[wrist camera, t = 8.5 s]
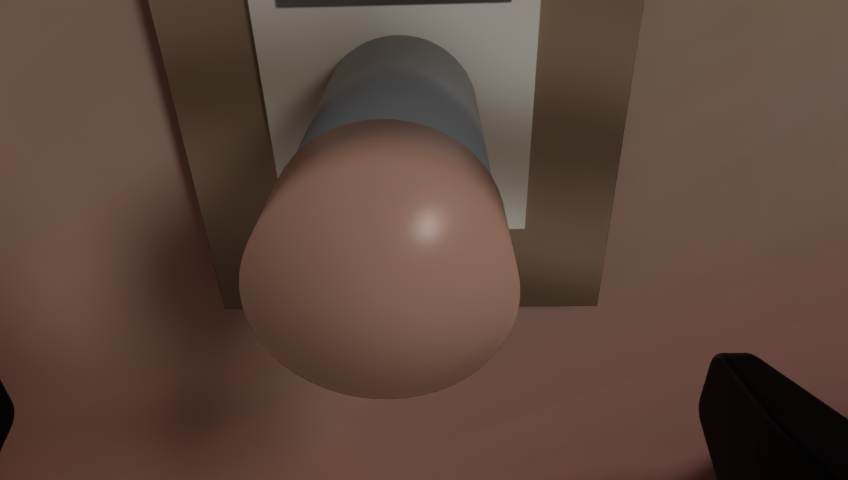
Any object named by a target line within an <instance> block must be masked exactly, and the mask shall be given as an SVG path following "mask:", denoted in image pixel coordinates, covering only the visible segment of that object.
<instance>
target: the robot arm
mask: <svg viewBox="0 0 848 480" xmlns="http://www.w3.org/2000/svg"><path fill="white" fill-rule="evenodd" d="M699 417H700V421H701V425H702V429H703V432H704V436H705V439H706V443H707V446H708V450H709V453H710V457H711V460H712V464H713V467H714V471H715V475H716V478H717V480H848V419H847V418H845V417H844V416H843V415H841V414H840V413H838V412H837V411H835V410H834V409H832V408H831V407H829V406H828V405H827V404H825V403H824V402H822V401H821V400H819V399H818V398H816V397H815V396H813V395H812V394H811V393H809V392H808V391H806V390H805V389H803V388H802V387H800V386H799V385H797V384H796V383H795V382H793V381H792V380H790V379H789V378H787V377H786V376H784V375H783V374H781V373H780V372H779V371H777V370H776V369H774V368H773V367H771V366H770V365H768V364H767V363H765V362H764V361H763V360H761V359H760V358H758V357H756V356H755V355H753V354H750V353H720V354H717V355H715V356H714V357H713V359H712V361H711V363H710V366H709V370H708V373H707V376H706V380H705V383H704V386H703V390H702V393H701V397H700V401H699ZM13 420H14V405H13V403H12V400H11V399H10V397H9V395H8V393H7V391H6V389H5V387H4V386H3V384H2V382H1V380H0V451H1V449H2V447H3V444H4V442H5V440H6V438H7V435H8V433H9V431H10V428H11V426H12V423H13Z"/></svg>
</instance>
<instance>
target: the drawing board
mask: <svg viewBox="0 0 848 480" xmlns="http://www.w3.org/2000/svg"><path fill="white" fill-rule="evenodd" d="M148 2H149V6H150V10H151V14H152V18H153V22H154V26H155V30H156V34H157V38H158V42H159V46H160V50H161V54H162V58H163V62H164V66H165V70H166V74H167V78H168V82H169V86H170V90H171V94H172V98H173V102H174V106H175V110H176V114H177V118H178V122H179V127H180V131H181V135H182V139H183V143H184V147H185V151H186V155H187V159H188V163H189V167H190V171H191V175H192V179H193V183H194V187H195V191H196V195H197V199H198V203H199V207H200V211H201V215H202V219H203V223H204V227H205V231H206V235H207V239H208V243H209V247H210V251H211V255H212V259H213V263H214V267H215V271H216V275H217V279H218V283H219V287H220V291H221V295H222V299H223V303H224V307H225V309H243V306H242V303H241V297H240V291H239V271H240V266H241V260H242V256H243V253H244V251H245V248H246V245H247V243H248V240H249V238H250V236H251V234H252V232H253V230H254V228H255V226H256V224H257V222H258V219H259V217H260V215H261V213H262V211H263V209H264V207H265V205H266V203H267V200H268V198H269V196H270V194H271V192H272V190H273V188H274V186H275V184H276V182H277V180H278V178H279V176H280V174H281V172H282V171H283V169H284V167H285V166H286V165H287V163H288V162H289V161H290V160H291V158H292V157H293V156H294V155H295V154H296V152H297V150H298V148H299V146H300V143H301V141H302V139H303V137H304V135H305V132H306V130H307V128H308V126H309V124H310V121H311V119H312V117H313V115H314V113H315V110H316V108H317V106H318V104H319V102H320V99H321V97H322V95H323V93H324V91H325V88H326V86H327V84H328V82H329V80H330V77H331V76H332V74H333V72H334V70H335V68H336V67H337V66H338V64H339V63H340V62H341V61H342V60H343V58H344V57H345V56H346V55H347V54H348V53H350V52H351V51H352V50H354V49H355V48H356V47H358V46H360V45H362V44H363V43H365V42H368V41H370V40H373V39H375V38H379V37H384V36H391V35H408V36H414V37H419V38H422V39H425V40H428V41H430V42H432V43H435V44H437V45H438V46H440V47H442V48H443V49H445V50H446V51H447V52H449V53H450V54H451V55H452V56H453V57H454V58H455V59H456V60H457V61H458V62H459V63H460V64H461V65H462V67H463V68H464V70H465V71H466V73H467V74H468V76H469V78H470V81H471V83H472V85H473V88H474V91H475V96H476V101H477V106H478V111H479V116H480V121H481V126H482V131H483V136H484V140H485V145H486V150H487V155H488V160H489V165H490V170H491V175H492V177H493V179H494V181H495V183H496V185H497V187H498V189H499V192H500V195H501V198H502V201H503V205H504V209H505V214H506V218H507V223H508V227H509V232H510V236H511V241H512V246H513V250H514V255H515V259H516V264H517V269H518V274H519V279H520V302H519V306H597V303H598V297H599V290H600V284H601V277H602V271H603V264H604V258H605V251H606V245H607V238H608V232H609V225H610V219H611V212H612V206H613V199H614V193H615V187H616V180H617V174H618V167H619V161H620V154H621V148H622V141H623V135H624V128H625V122H626V115H627V109H628V102H629V96H630V89H631V83H632V76H633V70H634V63H635V57H636V50H637V44H638V38H639V31H640V25H641V18H642V12H643V5H644V0H148Z"/></svg>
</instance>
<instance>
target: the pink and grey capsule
mask: <svg viewBox="0 0 848 480" xmlns="http://www.w3.org/2000/svg"><path fill="white" fill-rule="evenodd" d="M239 291H240V297H241V303H242V306H243V309H244V313H245V316H246V318H247V320H248V322H249V324H250V326H251V328H252V330H253V332H254V333H255V335H256V336H257V338H258V339H259V341H260V342H261V343H262V345H263V346H264V347H265V348H266V349H267V350H268V351H269V353H270V354H271V355H272V356H273V357H275V358H276V359H277V360H278V361H279V362H280V363H281V364H282V365H284V366H285V367H287V368H288V369H289V370H291V371H292V372H294V373H295V374H297V375H298V376H300V377H302V378H304V379H306V380H307V381H309V382H311V383H314V384H316V385H318V386H321V387H323V388H325V389H329V390H332V391H335V392H338V393H342V394H346V395H351V396H355V397H363V398H371V399H399V398H409V397H415V396H421V395H425V394H429V393H432V392H436V391H439V390H441V389H444V388H447V387H449V386H452V385H454V384H456V383H458V382H460V381H462V380H464V379H466V378H467V377H469V376H470V375H472V374H473V373H475V372H476V371H478V370H479V369H480V368H481V367H482V366H484V365H485V364H486V363H487V362H488V361H489V360H490V359H491V358H492V357H493V356H494V355H495V354H496V353H497V352H498V351H499V349H500V348H501V346H502V345H503V344H504V342H505V341H506V339H507V338H508V336H509V334H510V332H511V330H512V328H513V326H514V323H515V319H516V316H517V313H518V308H519V302H520V279H519V274H518V269H517V264H516V259H515V255H514V250H513V246H512V241H511V236H510V232H509V227H508V223H507V218H506V214H505V209H504V205H503V201H502V198H501V195H500V192H499V189H498V187H497V185H496V183H495V181H494V179H493V177H492V175H491V170H490V165H489V160H488V155H487V150H486V145H485V140H484V136H483V131H482V126H481V121H480V116H479V111H478V106H477V101H476V96H475V91H474V88H473V85H472V83H471V81H470V78H469V76H468V74H467V73H466V71H465V70H464V68H463V67H462V65H461V64H460V63H459V62H458V61H457V60H456V59H455V58H454V57H453V56H452V55H451V54H450V53H449V52H447V51H446V50H445V49H443V48H442V47H440V46H438V45H437V44H435V43H432V42H430V41H428V40H425V39H422V38H419V37H414V36H408V35H391V36H384V37H379V38H375V39H373V40H370V41H368V42H365V43H363V44H362V45H360V46H358V47H356V48H355V49H354V50H352V51H351V52H350V53H348V54H347V55H346V56H345V57H344V58H343V60H342V61H341V62H340V63H339V64H338V66H337V67H336V68H335V70H334V72H333V74H332V76H331V77H330V80H329V82H328V84H327V86H326V88H325V91H324V93H323V95H322V97H321V99H320V102H319V104H318V106H317V108H316V110H315V113H314V115H313V117H312V119H311V121H310V124H309V126H308V128H307V130H306V132H305V135H304V137H303V139H302V141H301V143H300V146H299V148H298V150H297V152H296V154H295V155H294V156H293V157H292V158H291V160H290V161H289V162H288V163H287V165H286V166H285V167H284V169H283V171H282V172H281V174H280V176H279V178H278V180H277V182H276V184H275V186H274V188H273V190H272V192H271V194H270V196H269V198H268V200H267V203H266V205H265V207H264V209H263V211H262V213H261V215H260V217H259V219H258V222H257V224H256V226H255V228H254V230H253V232H252V234H251V236H250V238H249V240H248V243H247V245H246V248H245V251H244V253H243V256H242V260H241V266H240V271H239Z"/></svg>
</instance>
